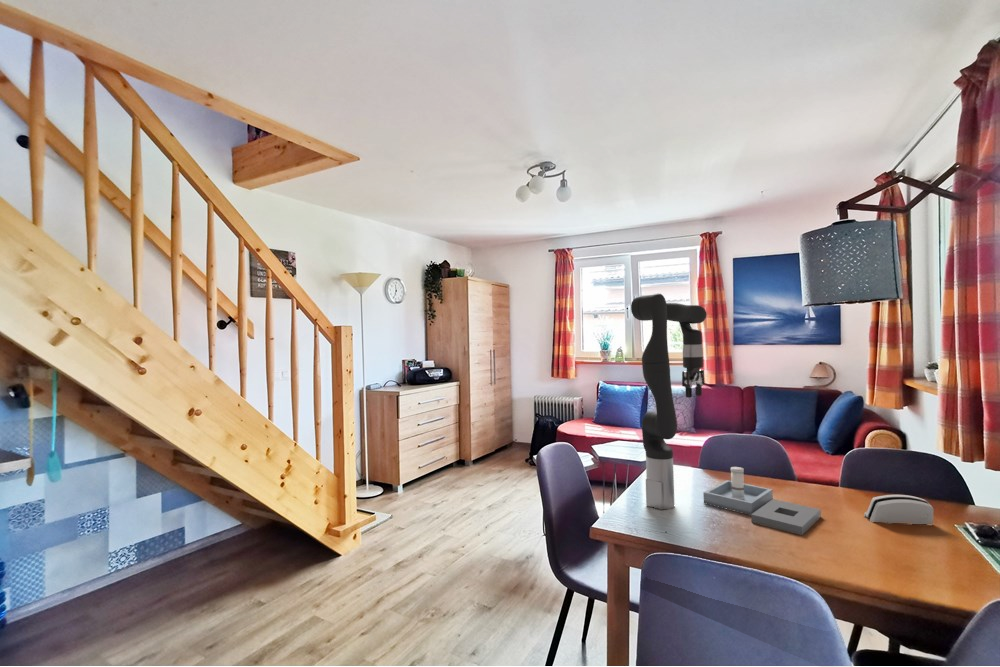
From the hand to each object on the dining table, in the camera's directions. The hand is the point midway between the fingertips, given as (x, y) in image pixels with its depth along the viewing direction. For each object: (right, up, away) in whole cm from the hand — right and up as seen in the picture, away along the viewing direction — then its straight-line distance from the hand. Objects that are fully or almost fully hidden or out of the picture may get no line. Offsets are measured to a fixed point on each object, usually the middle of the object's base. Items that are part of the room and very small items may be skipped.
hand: (693, 396), depth 182 cm
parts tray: (+8, -36, -18) cm, 41 cm away
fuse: (+8, -35, -18) cm, 40 cm away
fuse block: (+15, -35, -35) cm, 52 cm away
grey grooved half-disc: (+48, -35, -39) cm, 71 cm away
